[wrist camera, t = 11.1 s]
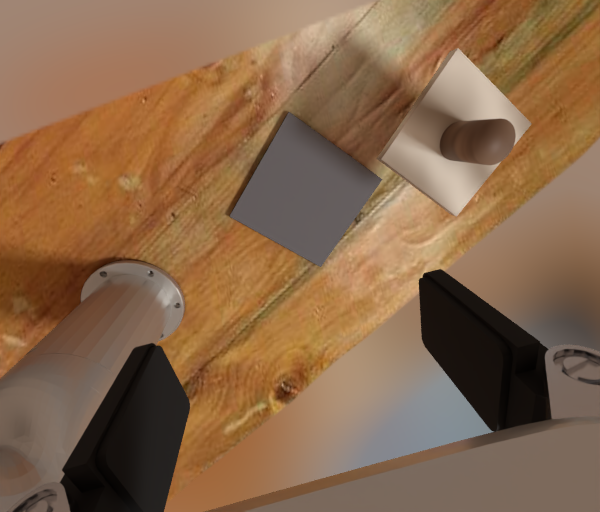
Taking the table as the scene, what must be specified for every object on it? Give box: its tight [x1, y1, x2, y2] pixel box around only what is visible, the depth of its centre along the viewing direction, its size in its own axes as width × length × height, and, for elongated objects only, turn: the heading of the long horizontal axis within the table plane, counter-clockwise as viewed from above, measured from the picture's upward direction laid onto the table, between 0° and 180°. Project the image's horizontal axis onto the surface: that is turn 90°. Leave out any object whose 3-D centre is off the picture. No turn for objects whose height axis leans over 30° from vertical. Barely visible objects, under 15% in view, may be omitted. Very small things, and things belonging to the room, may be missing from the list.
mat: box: [230, 112, 382, 267], centre depth 37 cm, size 14×14×1 cm
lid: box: [377, 48, 531, 216], centre depth 27 cm, size 11×11×6 cm
